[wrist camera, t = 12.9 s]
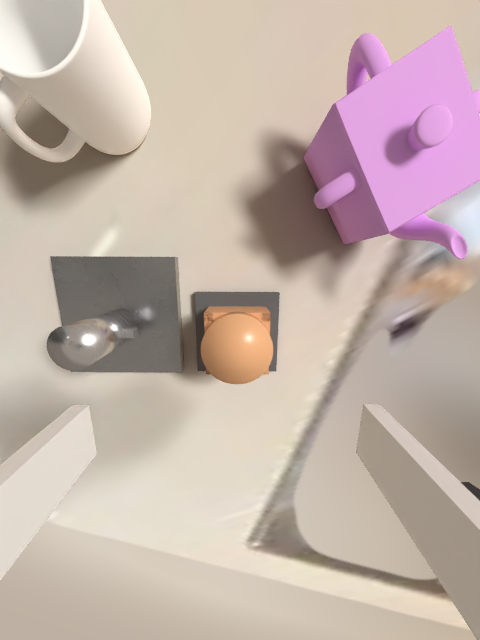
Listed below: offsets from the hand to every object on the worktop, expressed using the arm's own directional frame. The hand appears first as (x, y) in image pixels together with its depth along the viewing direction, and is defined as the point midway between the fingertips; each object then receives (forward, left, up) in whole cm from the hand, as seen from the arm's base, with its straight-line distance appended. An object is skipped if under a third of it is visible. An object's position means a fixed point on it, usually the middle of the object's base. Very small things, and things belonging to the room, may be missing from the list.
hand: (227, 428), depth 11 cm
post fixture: (-14, +1, -18) cm, 22 cm away
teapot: (+13, +16, -18) cm, 27 cm away
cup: (-14, +22, -18) cm, 31 cm away
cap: (0, 0, -17) cm, 17 cm away
